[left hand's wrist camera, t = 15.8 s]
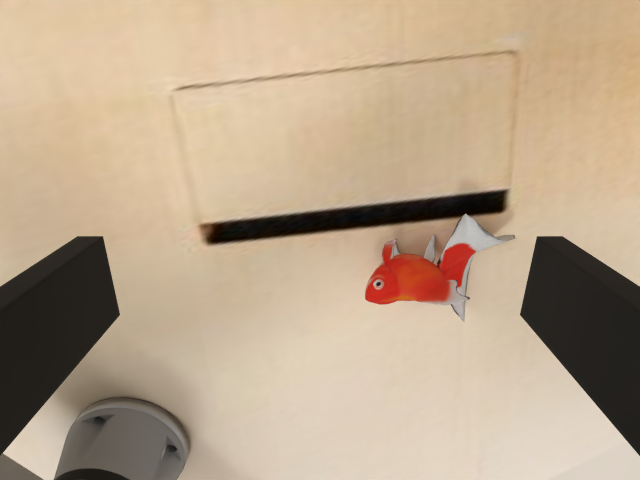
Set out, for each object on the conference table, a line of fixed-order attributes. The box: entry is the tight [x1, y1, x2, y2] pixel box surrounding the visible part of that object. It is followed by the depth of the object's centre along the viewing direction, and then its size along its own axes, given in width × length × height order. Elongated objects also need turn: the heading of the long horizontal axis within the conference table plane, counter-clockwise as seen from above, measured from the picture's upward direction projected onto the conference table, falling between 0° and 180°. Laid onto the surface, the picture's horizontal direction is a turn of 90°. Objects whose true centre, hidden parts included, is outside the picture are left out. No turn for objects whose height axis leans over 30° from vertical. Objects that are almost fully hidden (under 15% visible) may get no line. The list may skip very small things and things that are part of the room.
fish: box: [365, 214, 515, 321], centre depth 40 cm, size 11×16×10 cm
